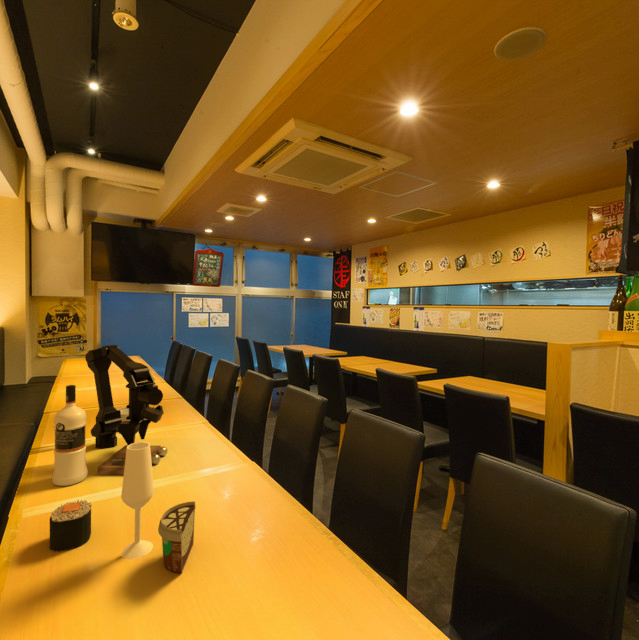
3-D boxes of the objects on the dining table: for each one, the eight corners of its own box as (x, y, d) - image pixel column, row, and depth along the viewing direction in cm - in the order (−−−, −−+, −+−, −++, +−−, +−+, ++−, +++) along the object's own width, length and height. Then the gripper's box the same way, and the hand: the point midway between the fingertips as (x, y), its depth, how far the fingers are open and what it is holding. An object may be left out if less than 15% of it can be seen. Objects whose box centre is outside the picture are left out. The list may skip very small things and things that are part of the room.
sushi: (45, 555, 82) (45, 519, 81) (55, 533, 89) (55, 501, 89) (88, 546, 85) (88, 512, 85) (94, 526, 93) (94, 495, 92)
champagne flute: (130, 539, 88) (131, 439, 87) (158, 541, 88) (160, 441, 87) (114, 558, 81) (115, 451, 80) (144, 560, 81) (145, 452, 80)
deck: (97, 474, 120) (97, 462, 120) (125, 451, 139) (125, 441, 139) (138, 475, 121) (138, 462, 121) (160, 452, 140) (160, 441, 139)
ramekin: (116, 431, 160) (116, 415, 160) (109, 423, 170) (109, 408, 170) (148, 425, 169) (148, 410, 169) (140, 418, 179) (140, 404, 179)
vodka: (94, 476, 119) (95, 383, 118) (67, 489, 110) (67, 389, 109) (72, 471, 122) (73, 381, 121) (44, 484, 113) (44, 386, 112)
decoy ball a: (156, 457, 134) (156, 448, 134) (159, 454, 138) (159, 445, 138) (165, 457, 135) (165, 448, 134) (168, 454, 138) (169, 445, 138)
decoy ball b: (148, 466, 127) (148, 456, 127) (152, 461, 131) (152, 452, 131) (158, 466, 128) (158, 456, 128) (161, 462, 131) (162, 452, 131)
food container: (168, 542, 87) (168, 500, 87) (195, 541, 88) (195, 500, 88) (148, 580, 75) (149, 532, 75) (179, 579, 76) (180, 531, 75)
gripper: (150, 408, 125) (149, 454, 125) (169, 395, 143) (169, 435, 144) (116, 408, 124) (115, 454, 124) (140, 394, 143) (139, 434, 143)
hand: (137, 443), depth 134 cm, fingers open, 9 cm apart
